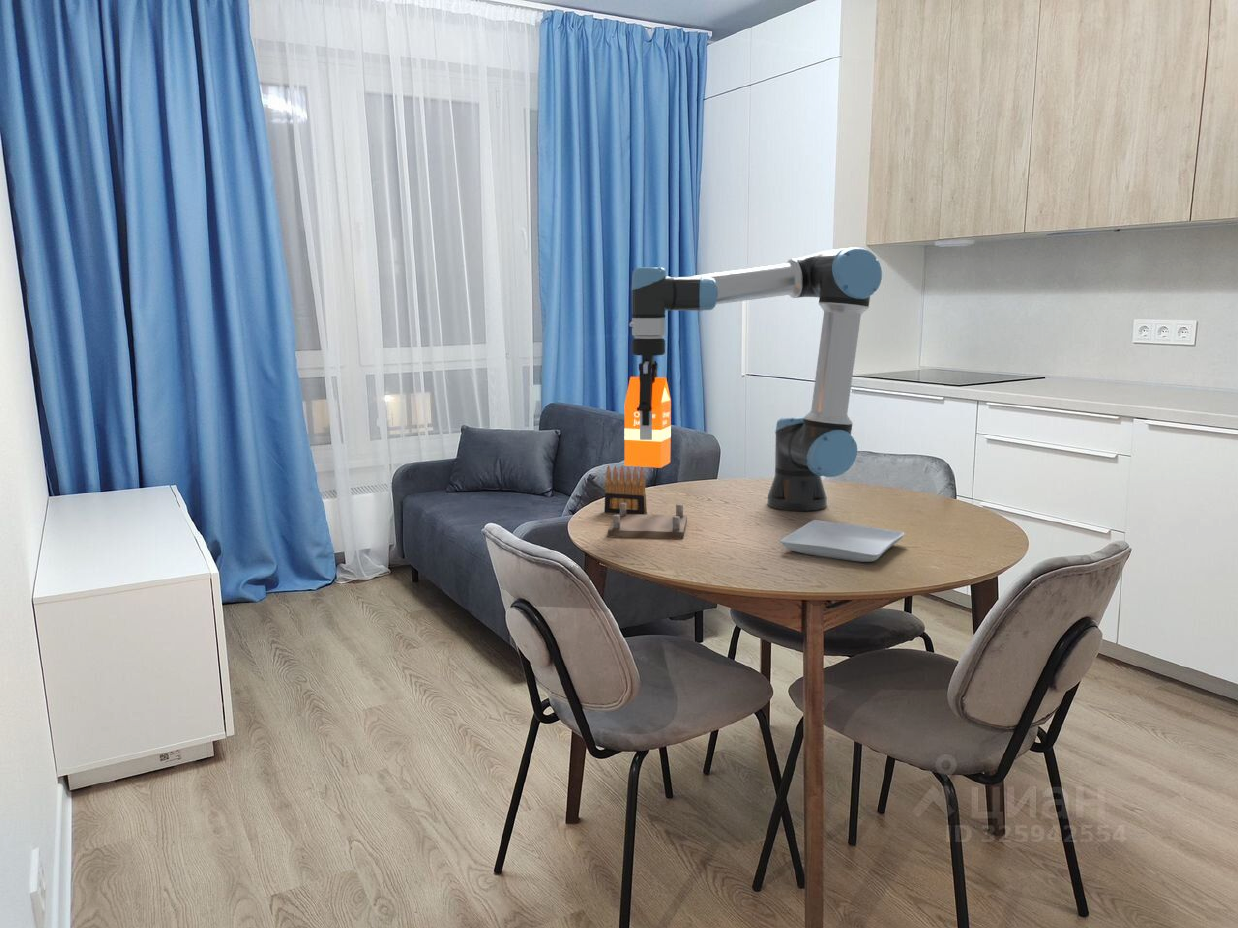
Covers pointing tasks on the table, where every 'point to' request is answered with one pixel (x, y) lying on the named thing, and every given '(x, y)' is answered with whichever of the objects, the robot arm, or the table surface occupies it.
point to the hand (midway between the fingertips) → (648, 436)
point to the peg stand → (648, 524)
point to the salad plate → (841, 540)
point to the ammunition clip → (625, 492)
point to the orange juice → (659, 446)
